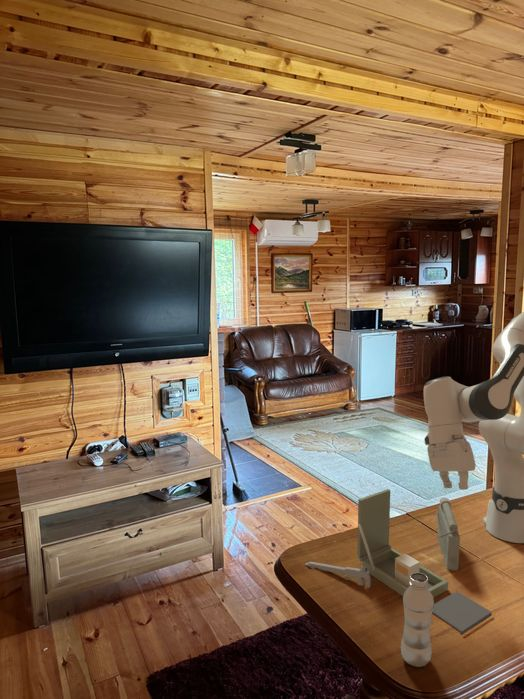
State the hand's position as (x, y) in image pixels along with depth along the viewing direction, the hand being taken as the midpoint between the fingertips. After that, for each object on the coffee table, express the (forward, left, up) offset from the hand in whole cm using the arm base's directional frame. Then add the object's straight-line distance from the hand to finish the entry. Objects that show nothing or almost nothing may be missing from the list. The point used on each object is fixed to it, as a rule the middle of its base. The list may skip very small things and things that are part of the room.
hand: (455, 488), depth 132 cm
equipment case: (+10, -10, -28) cm, 31 cm away
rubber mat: (+8, +8, -28) cm, 30 cm away
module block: (+10, -7, -27) cm, 30 cm away
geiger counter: (-14, -13, -28) cm, 34 cm away
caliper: (+23, -21, -28) cm, 42 cm away
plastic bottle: (+29, +12, -28) cm, 42 cm away
